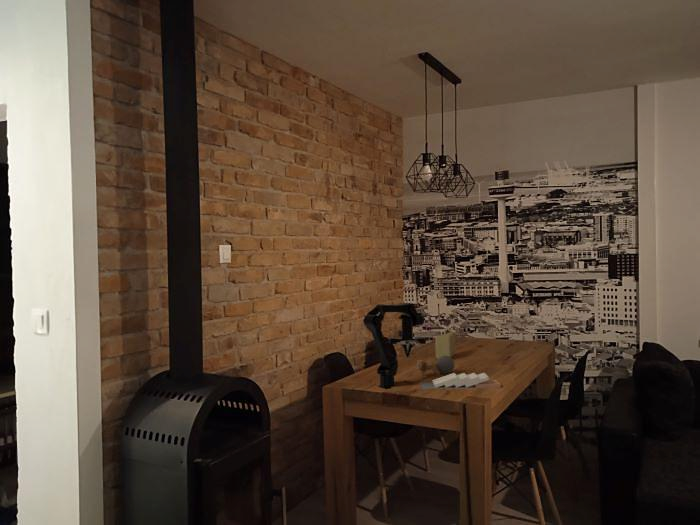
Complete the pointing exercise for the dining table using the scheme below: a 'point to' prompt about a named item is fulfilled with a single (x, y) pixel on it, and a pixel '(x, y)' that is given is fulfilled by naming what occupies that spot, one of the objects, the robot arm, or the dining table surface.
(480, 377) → the tile
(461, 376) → the tile
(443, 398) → the dining table surface
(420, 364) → the lion figurine
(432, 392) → the dining table surface
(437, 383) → the tile
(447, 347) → the cheese
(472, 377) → the tile
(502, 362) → the dining table surface
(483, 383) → the tile
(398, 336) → the robot arm
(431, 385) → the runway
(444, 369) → the decorative ball
